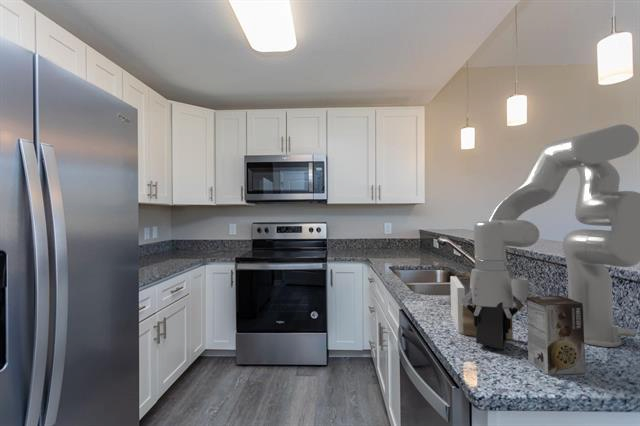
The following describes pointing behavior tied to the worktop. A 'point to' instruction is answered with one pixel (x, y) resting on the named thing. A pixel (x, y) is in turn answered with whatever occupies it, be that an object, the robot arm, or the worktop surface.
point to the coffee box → (556, 335)
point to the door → (469, 323)
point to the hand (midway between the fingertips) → (491, 329)
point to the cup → (522, 288)
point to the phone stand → (491, 327)
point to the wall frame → (457, 302)
